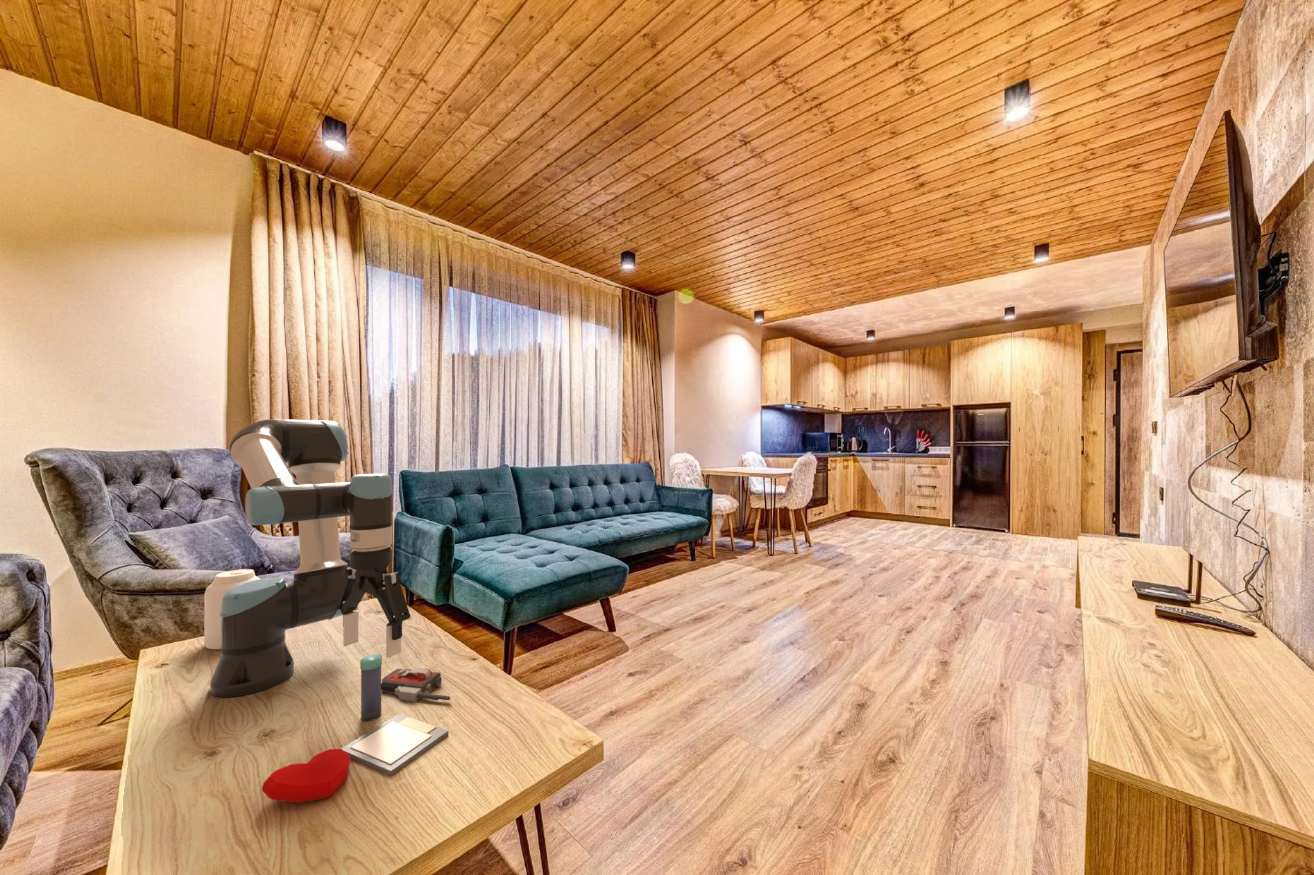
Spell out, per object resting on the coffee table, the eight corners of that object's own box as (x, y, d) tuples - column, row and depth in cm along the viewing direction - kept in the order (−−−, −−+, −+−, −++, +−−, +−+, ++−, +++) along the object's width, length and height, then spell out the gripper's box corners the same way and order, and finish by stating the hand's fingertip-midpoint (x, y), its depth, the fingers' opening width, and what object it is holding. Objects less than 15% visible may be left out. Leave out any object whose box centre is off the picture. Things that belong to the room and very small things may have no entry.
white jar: (262, 628, 142) (262, 563, 142) (263, 641, 132) (264, 572, 133) (205, 640, 133) (205, 571, 133) (203, 655, 124) (203, 581, 124)
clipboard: (339, 753, 85) (339, 748, 85) (399, 717, 96) (399, 712, 96) (391, 775, 79) (390, 770, 79) (448, 734, 90) (448, 729, 90)
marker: (355, 718, 95) (355, 660, 95) (374, 708, 99) (374, 653, 99) (368, 723, 94) (368, 664, 94) (386, 713, 97) (386, 656, 97)
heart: (366, 787, 78) (334, 762, 83) (371, 761, 79) (340, 738, 84) (284, 828, 68) (254, 796, 73) (291, 797, 68) (261, 768, 73)
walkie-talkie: (367, 698, 104) (446, 708, 100) (367, 678, 104) (446, 687, 100) (396, 678, 112) (470, 686, 108) (396, 660, 112) (470, 667, 108)
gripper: (316, 546, 98) (316, 646, 98) (395, 556, 88) (395, 668, 88) (351, 539, 105) (351, 632, 105) (428, 548, 95) (429, 651, 94)
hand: (371, 649), depth 96 cm, fingers open, 13 cm apart
